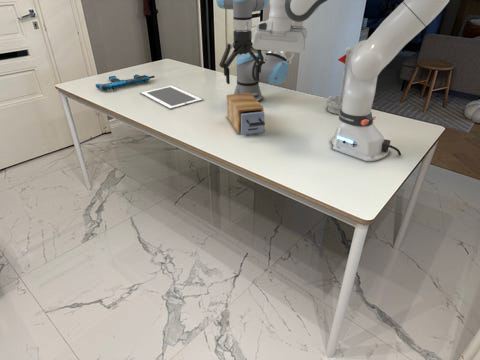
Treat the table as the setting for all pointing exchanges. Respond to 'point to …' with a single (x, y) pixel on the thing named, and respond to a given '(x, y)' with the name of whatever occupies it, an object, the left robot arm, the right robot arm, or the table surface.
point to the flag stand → (336, 102)
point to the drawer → (252, 122)
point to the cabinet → (240, 107)
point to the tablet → (171, 96)
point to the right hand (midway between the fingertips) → (277, 62)
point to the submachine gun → (123, 82)
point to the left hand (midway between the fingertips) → (242, 81)
